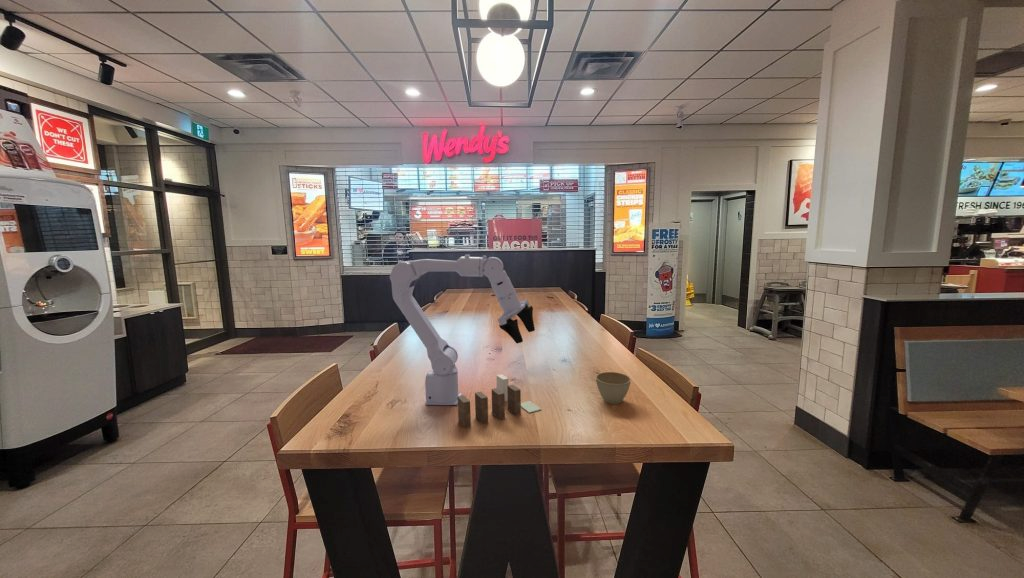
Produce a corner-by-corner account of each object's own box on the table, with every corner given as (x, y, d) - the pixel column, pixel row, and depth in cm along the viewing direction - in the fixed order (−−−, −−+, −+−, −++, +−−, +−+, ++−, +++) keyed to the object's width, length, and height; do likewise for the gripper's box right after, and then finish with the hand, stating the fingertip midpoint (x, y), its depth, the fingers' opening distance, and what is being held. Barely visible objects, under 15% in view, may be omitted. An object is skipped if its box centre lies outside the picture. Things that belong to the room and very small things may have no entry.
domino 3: (503, 402, 116) (502, 379, 115) (496, 396, 120) (496, 375, 119) (508, 400, 117) (508, 378, 116) (502, 395, 120) (501, 374, 119)
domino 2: (482, 423, 102) (481, 398, 101) (475, 417, 106) (474, 392, 105) (488, 422, 103) (487, 397, 102) (481, 415, 107) (480, 391, 106)
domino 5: (515, 415, 107) (514, 390, 106) (507, 409, 111) (507, 385, 110) (520, 413, 108) (520, 389, 107) (513, 407, 112) (512, 384, 111)
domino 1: (464, 428, 100) (463, 402, 99) (458, 421, 104) (457, 396, 103) (470, 426, 101) (470, 401, 100) (464, 419, 105) (463, 395, 104)
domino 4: (499, 419, 105) (498, 394, 104) (492, 413, 109) (491, 389, 108) (504, 417, 106) (504, 393, 105) (497, 411, 109) (497, 387, 108)
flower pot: (589, 401, 115) (589, 378, 114) (606, 391, 122) (606, 369, 121) (620, 411, 108) (620, 386, 107) (636, 400, 116) (636, 377, 115)
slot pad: (529, 413, 108) (529, 412, 108) (517, 404, 114) (517, 403, 114) (541, 409, 110) (541, 408, 110) (529, 401, 115) (529, 400, 115)
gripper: (503, 300, 105) (524, 345, 106) (528, 283, 116) (547, 323, 118) (485, 307, 109) (505, 349, 111) (511, 290, 121) (529, 328, 122)
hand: (526, 336), depth 115 cm, fingers open, 7 cm apart
